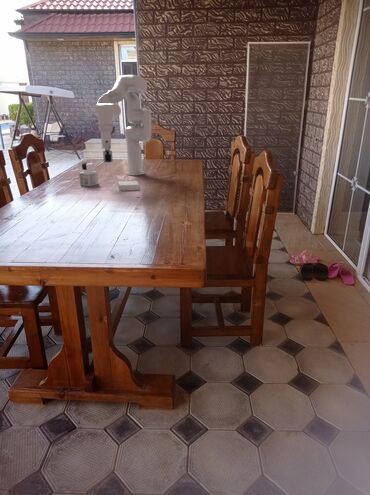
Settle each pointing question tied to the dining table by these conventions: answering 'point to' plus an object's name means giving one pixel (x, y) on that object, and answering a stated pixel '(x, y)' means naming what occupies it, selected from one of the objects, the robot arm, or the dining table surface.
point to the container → (88, 175)
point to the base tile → (128, 185)
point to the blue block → (104, 156)
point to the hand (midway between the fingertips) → (108, 160)
